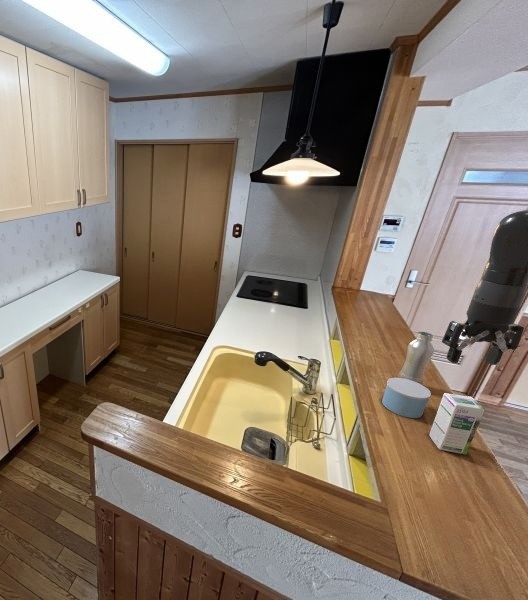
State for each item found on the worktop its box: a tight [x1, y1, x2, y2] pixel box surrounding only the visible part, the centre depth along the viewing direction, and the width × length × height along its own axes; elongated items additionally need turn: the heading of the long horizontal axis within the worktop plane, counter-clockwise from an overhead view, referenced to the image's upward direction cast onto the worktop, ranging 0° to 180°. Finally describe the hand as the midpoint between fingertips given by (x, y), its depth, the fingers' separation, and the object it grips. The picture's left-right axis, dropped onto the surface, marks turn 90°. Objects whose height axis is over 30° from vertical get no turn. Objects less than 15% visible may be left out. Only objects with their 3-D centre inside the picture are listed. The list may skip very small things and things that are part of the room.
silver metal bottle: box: [397, 331, 435, 385], centre depth 109 cm, size 6×7×20 cm
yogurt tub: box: [381, 377, 432, 419], centre depth 100 cm, size 10×10×8 cm
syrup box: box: [428, 392, 486, 455], centre depth 85 cm, size 6×6×14 cm
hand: (471, 362), depth 79 cm, fingers open, 8 cm apart
